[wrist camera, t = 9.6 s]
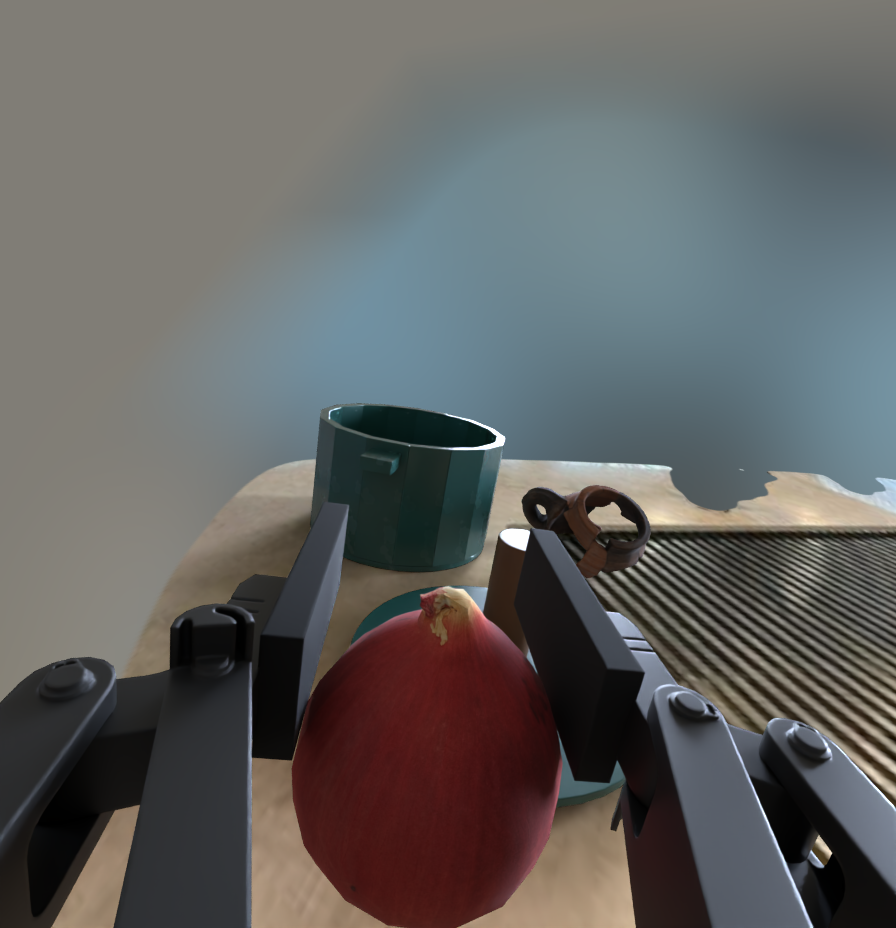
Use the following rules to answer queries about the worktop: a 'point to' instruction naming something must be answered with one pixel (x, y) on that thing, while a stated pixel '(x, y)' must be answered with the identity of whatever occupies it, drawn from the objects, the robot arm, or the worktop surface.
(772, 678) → the worktop surface
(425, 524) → the pot
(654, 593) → the worktop surface
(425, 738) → the onion
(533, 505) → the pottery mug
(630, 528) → the worktop surface
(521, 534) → the lid
